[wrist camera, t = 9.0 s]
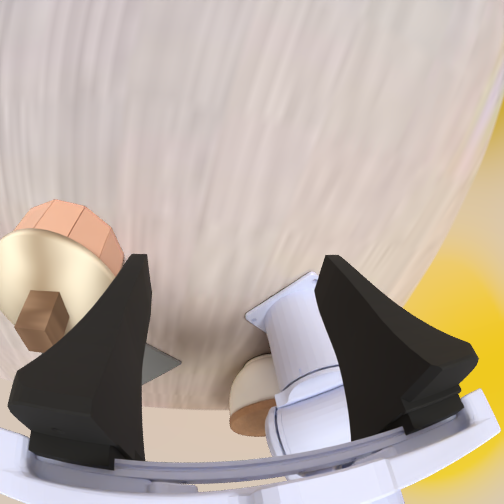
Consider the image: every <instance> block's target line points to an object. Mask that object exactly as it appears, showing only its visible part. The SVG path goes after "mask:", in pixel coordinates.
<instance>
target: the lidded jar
mask: <svg viewBox="0 0 504 504" xmlns="http://www.w3.org/2000/svg"><path fill="white" fill-rule="evenodd" d="M278 393H280V390H279V385H278V381H277V376H276V372H275V367H274V363H273V359H272V354H266V355H261V356H258V357H255V358H253V359H251V360H250V361H248V362H247V363H246V364H245V365H244V368H243V369H242V370H241V371H240V372H239V373H238V375H237V376H236V378H235V379H234V381H233V383H232V386H231V391H230V397H229V411H230V427H231V429H232V430H233V431H234V432H236V433H238V434H241V435H246V436H254V437H259V436H261V437H262V436H266V434H265V420H266V417H267V415H268V412H269V410H270V408H271V407H274V406H277V405H276V401H275V396H274V395H275V394H278Z"/></svg>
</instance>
